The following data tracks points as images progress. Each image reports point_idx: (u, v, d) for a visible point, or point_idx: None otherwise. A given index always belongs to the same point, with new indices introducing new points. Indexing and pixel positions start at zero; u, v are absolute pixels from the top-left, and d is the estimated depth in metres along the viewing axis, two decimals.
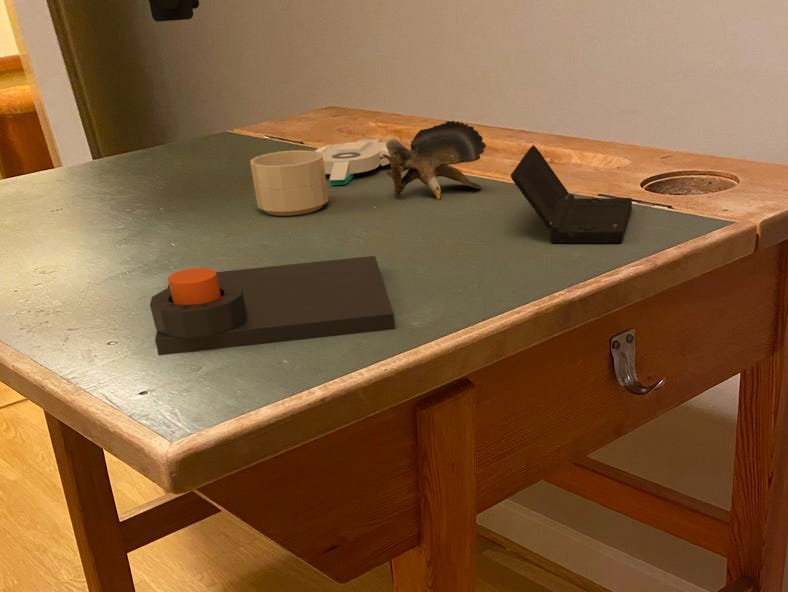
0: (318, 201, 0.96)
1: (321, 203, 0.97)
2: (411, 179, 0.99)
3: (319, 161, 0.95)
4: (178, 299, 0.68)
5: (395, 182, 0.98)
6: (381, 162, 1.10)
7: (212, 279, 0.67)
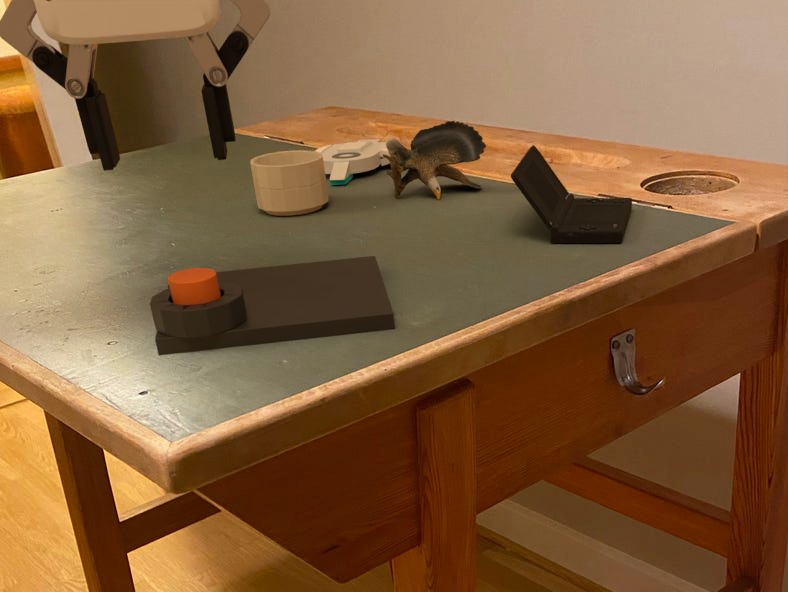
0: (318, 201, 0.96)
1: (321, 203, 0.97)
2: (411, 179, 0.99)
3: (319, 161, 0.95)
4: (178, 299, 0.68)
5: (395, 182, 0.98)
6: (381, 162, 1.10)
7: (212, 279, 0.67)
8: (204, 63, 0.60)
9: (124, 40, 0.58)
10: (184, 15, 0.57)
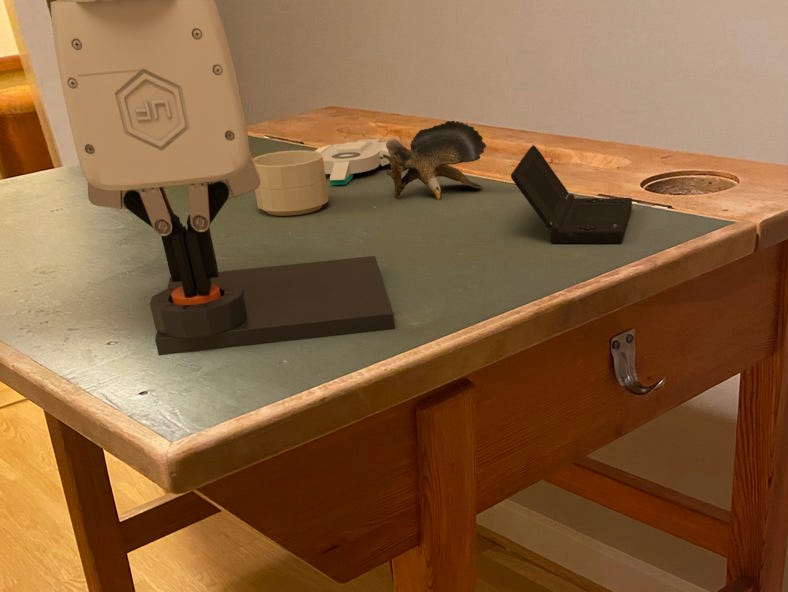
0: (318, 201, 0.96)
1: (321, 203, 0.97)
2: (411, 179, 0.99)
3: (319, 161, 0.95)
4: None
5: (395, 182, 0.98)
6: (381, 162, 1.10)
7: (215, 294, 0.68)
8: (194, 207, 0.64)
9: (159, 185, 0.62)
10: (215, 163, 0.62)
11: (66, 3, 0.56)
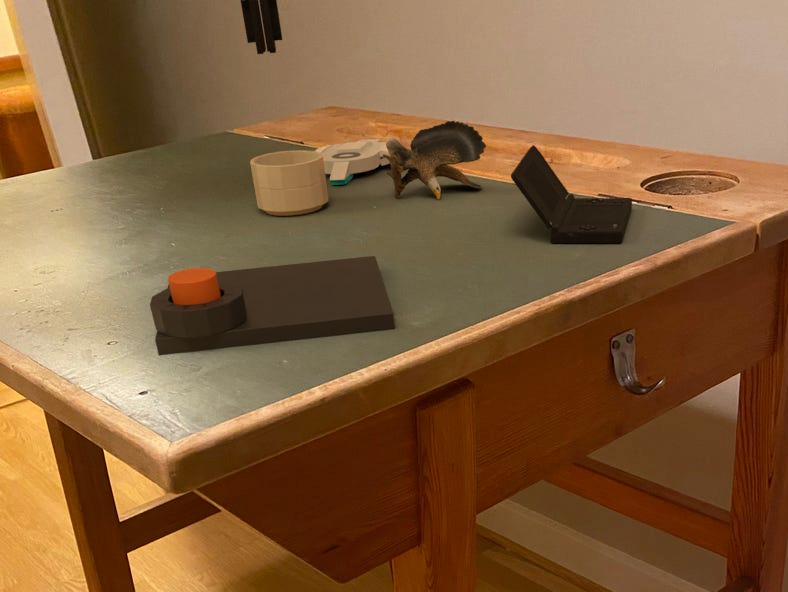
0: (318, 201, 0.96)
1: (321, 203, 0.97)
2: (411, 179, 0.99)
3: (319, 161, 0.95)
4: (178, 299, 0.68)
5: (395, 182, 0.98)
6: (381, 162, 1.10)
7: (212, 279, 0.67)
8: None
9: None
10: None
11: None
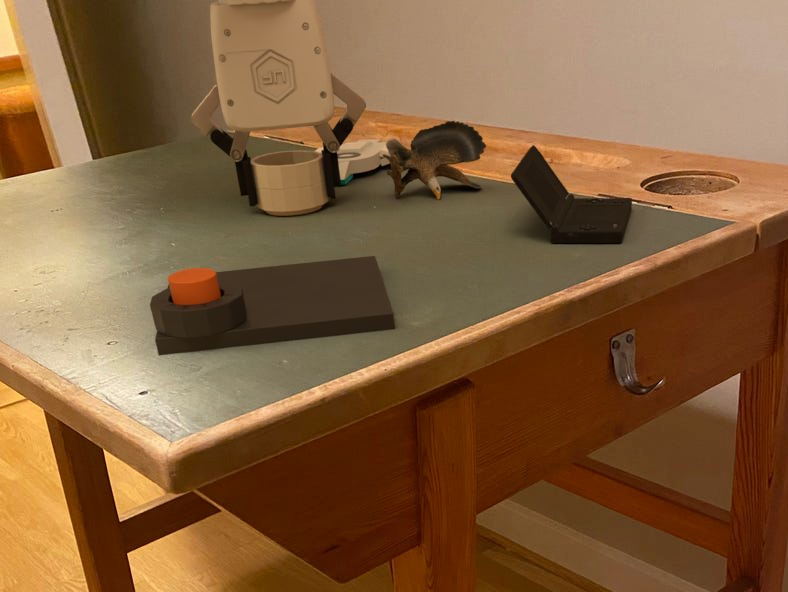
0: (318, 201, 0.96)
1: (321, 203, 0.97)
2: (411, 179, 0.99)
3: (319, 161, 0.95)
4: (178, 299, 0.68)
5: (395, 182, 0.98)
6: (381, 162, 1.10)
7: (212, 279, 0.67)
8: (325, 139, 0.94)
9: (274, 128, 0.92)
10: (313, 113, 0.92)
11: (222, 5, 0.86)
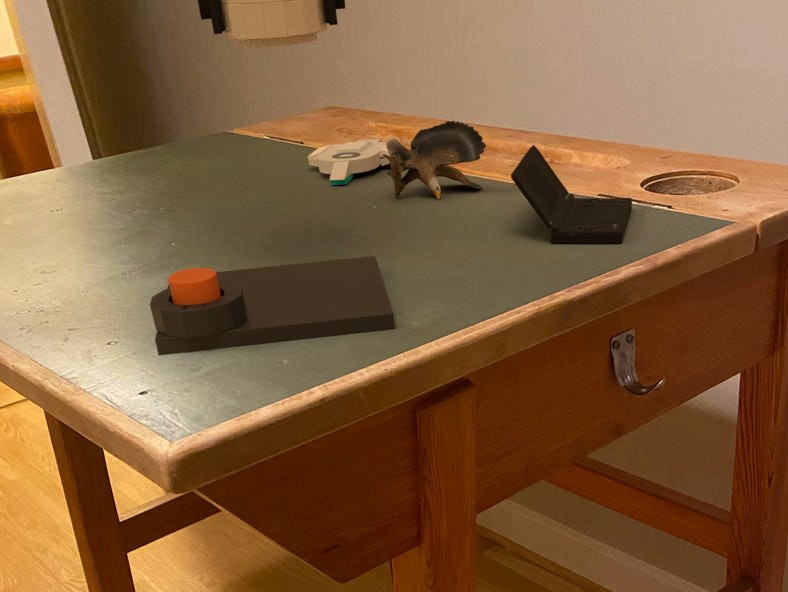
0: (312, 25, 0.67)
1: (317, 29, 0.67)
2: (411, 179, 0.99)
3: None
4: (178, 299, 0.68)
5: (395, 182, 0.98)
6: (381, 162, 1.10)
7: (212, 279, 0.67)
8: None
9: None
10: None
11: None
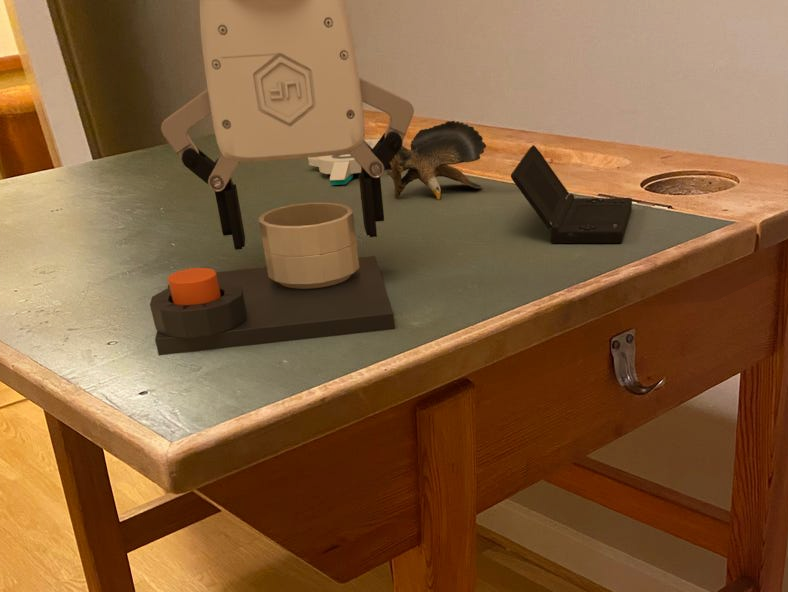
0: (347, 270, 0.74)
1: (350, 272, 0.75)
2: (411, 179, 0.99)
3: (348, 219, 0.73)
4: (178, 299, 0.68)
5: (395, 182, 0.98)
6: None
7: (212, 279, 0.67)
8: (363, 162, 0.71)
9: (285, 158, 0.69)
10: (336, 139, 0.69)
11: None
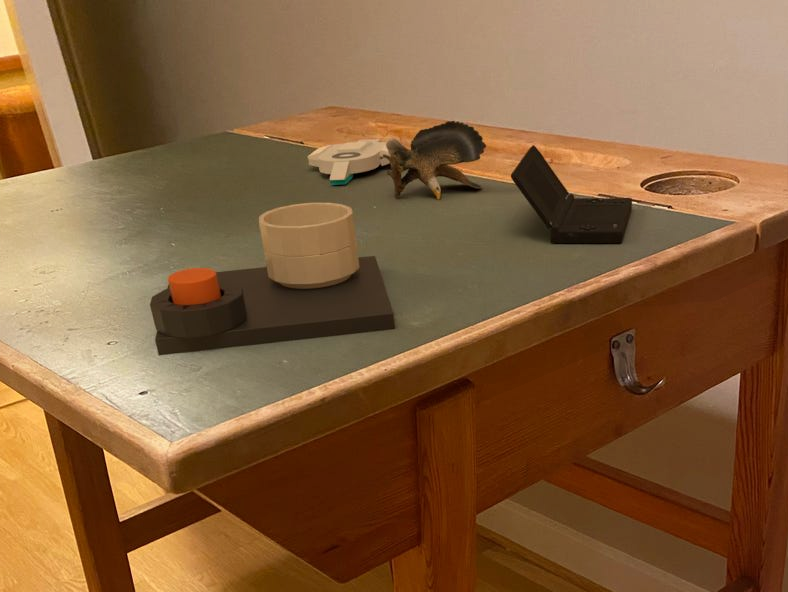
0: (347, 270, 0.74)
1: (350, 272, 0.75)
2: (411, 179, 0.99)
3: (348, 219, 0.73)
4: (178, 299, 0.68)
5: (395, 182, 0.98)
6: (381, 162, 1.10)
7: (212, 279, 0.67)
8: None
9: None
10: None
11: None
